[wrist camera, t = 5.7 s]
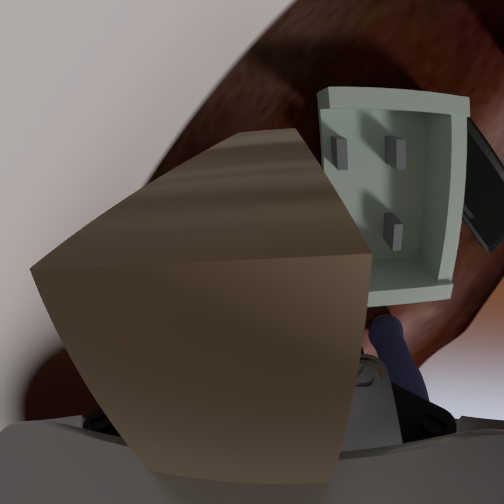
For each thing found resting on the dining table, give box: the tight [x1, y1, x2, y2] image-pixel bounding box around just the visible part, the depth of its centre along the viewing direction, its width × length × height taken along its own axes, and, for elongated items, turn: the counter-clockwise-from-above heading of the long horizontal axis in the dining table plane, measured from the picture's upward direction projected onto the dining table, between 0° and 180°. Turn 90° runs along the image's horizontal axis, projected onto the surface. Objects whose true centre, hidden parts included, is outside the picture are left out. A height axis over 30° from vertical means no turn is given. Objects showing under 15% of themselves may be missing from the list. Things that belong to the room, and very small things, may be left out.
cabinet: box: [317, 87, 470, 307], centre depth 24 cm, size 17×11×7 cm, turn 6°
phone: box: [462, 117, 504, 252], centre depth 25 cm, size 8×1×15 cm
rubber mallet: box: [368, 314, 429, 401], centre depth 20 cm, size 12×8×30 cm, turn 141°
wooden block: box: [30, 128, 372, 484], centre depth 10 cm, size 12×3×12 cm, turn 6°
